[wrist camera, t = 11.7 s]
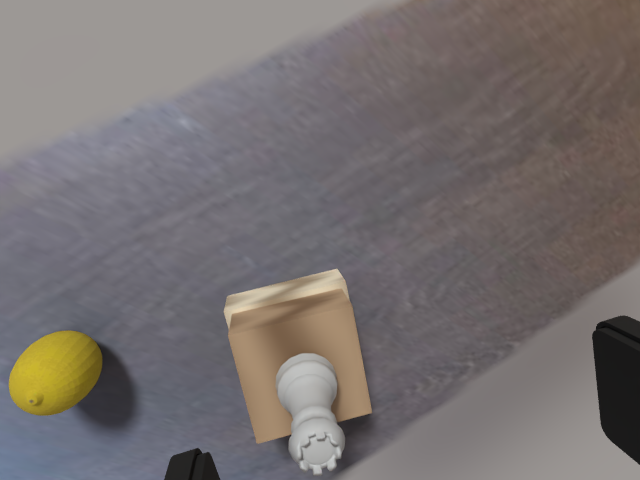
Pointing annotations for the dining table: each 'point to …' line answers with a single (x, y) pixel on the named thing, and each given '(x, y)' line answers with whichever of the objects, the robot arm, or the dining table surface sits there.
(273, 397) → the tan top block
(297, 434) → the rook chess piece
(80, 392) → the lemon
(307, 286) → the beech base block
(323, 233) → the dining table surface
